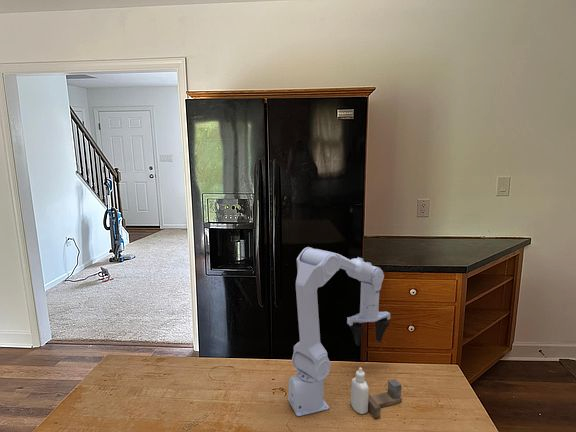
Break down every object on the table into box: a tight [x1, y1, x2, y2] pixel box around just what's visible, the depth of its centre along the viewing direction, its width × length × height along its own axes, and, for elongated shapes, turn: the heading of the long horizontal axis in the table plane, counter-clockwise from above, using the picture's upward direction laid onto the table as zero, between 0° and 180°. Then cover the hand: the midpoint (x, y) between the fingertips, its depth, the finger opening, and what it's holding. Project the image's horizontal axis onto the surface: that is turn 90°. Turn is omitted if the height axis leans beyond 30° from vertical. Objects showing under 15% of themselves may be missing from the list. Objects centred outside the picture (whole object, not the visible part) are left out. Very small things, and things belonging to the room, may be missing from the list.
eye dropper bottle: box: [350, 367, 370, 415], centre depth 105 cm, size 4×6×12 cm
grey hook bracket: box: [368, 378, 403, 419], centre depth 108 cm, size 11×11×5 cm
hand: (368, 342), depth 124 cm, fingers open, 7 cm apart
